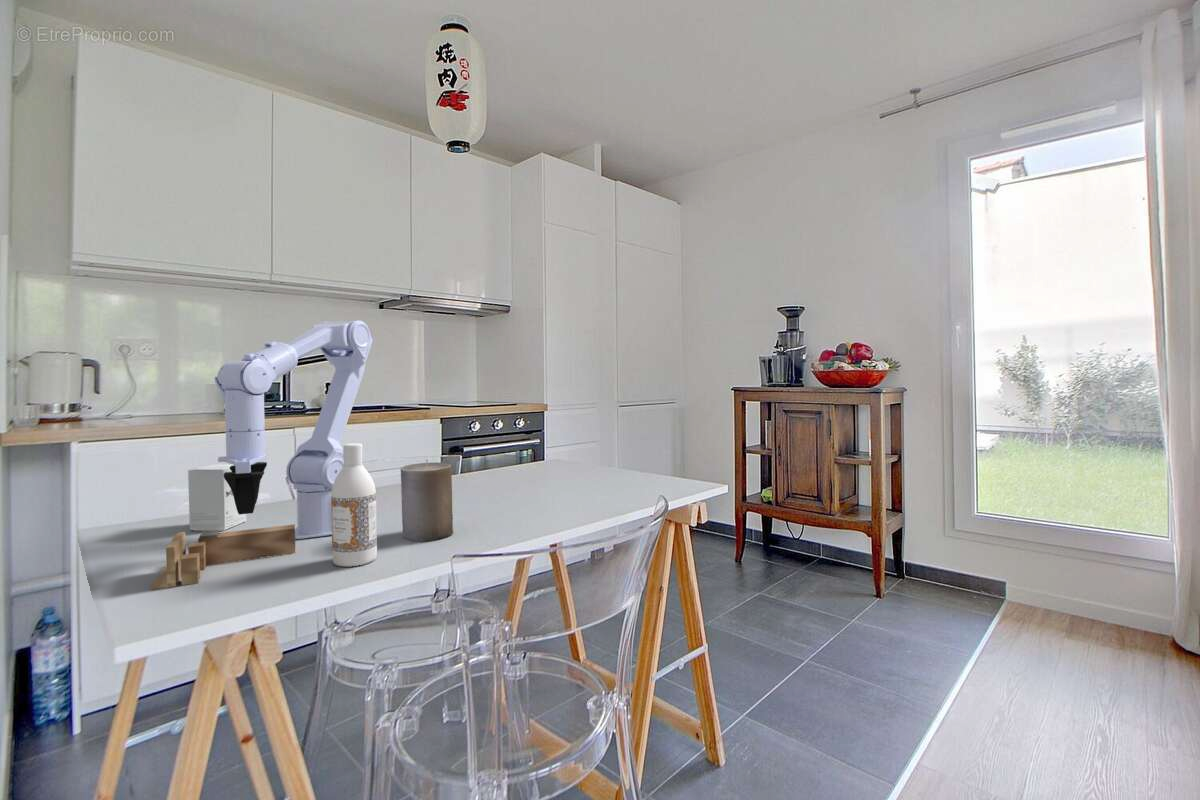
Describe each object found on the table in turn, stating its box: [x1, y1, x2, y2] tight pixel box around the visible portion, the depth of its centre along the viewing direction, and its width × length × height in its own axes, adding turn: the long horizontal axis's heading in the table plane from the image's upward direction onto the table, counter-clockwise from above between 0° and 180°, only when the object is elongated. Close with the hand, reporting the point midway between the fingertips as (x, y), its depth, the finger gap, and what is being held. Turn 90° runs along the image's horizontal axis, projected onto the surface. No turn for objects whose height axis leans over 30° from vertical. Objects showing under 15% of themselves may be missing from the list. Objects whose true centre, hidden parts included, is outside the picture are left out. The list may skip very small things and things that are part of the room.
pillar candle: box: [399, 459, 454, 542], centre depth 110 cm, size 10×10×15 cm
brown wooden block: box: [197, 524, 296, 566], centre depth 97 cm, size 14×3×5 cm, turn 118°
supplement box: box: [187, 463, 247, 532], centre depth 116 cm, size 7×7×13 cm
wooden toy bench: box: [150, 531, 207, 591], centre depth 87 cm, size 6×9×6 cm, turn 29°
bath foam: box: [331, 442, 378, 568], centre depth 94 cm, size 7×7×20 cm
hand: (247, 508), depth 96 cm, fingers open, 7 cm apart
